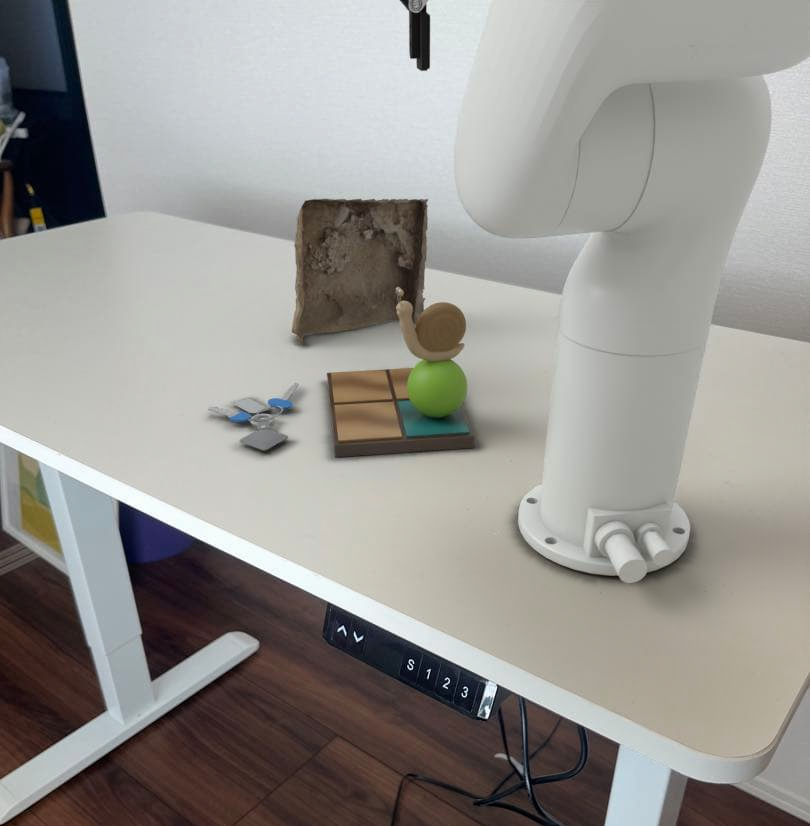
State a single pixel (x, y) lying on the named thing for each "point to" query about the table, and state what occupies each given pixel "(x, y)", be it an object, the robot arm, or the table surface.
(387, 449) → the game board
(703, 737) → the table surface
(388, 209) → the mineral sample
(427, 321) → the snail figurine
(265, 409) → the key chain
